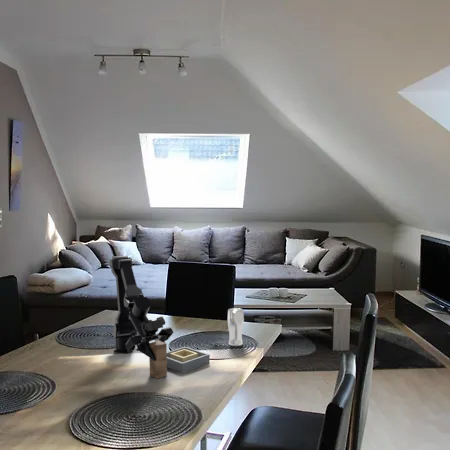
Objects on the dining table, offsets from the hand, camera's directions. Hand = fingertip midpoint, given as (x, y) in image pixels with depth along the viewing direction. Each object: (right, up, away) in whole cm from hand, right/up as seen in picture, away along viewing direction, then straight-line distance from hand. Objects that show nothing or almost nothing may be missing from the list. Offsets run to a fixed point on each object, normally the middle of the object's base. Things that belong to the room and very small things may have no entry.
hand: (160, 358), depth 197 cm
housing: (+7, -5, +14) cm, 17 cm away
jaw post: (-1, -6, +2) cm, 7 cm away
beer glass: (+28, -3, +38) cm, 48 cm away
